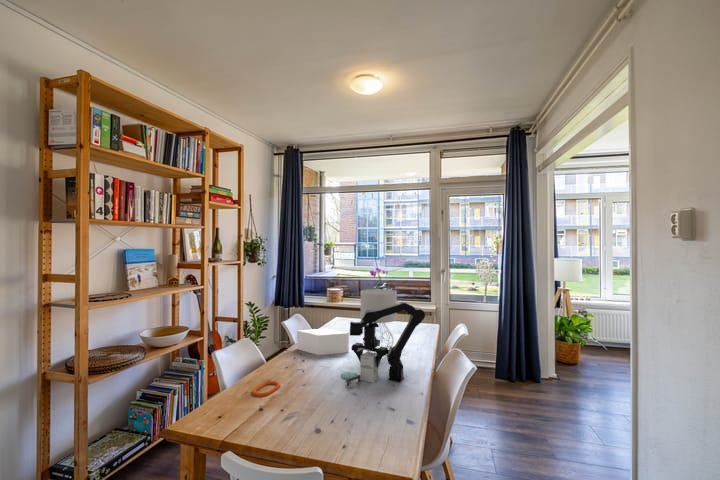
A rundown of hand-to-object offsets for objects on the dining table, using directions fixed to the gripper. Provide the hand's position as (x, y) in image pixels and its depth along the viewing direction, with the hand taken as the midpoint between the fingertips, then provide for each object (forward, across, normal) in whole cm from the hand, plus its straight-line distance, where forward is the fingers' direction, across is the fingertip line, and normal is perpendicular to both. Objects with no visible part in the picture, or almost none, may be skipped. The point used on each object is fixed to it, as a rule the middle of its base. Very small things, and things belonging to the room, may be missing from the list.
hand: (369, 365), depth 166 cm
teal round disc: (+7, +11, +2) cm, 13 cm away
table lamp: (+7, +11, -33) cm, 35 cm away
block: (+7, +48, -24) cm, 54 cm away
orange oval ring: (+7, +37, +35) cm, 52 cm away
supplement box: (+7, 0, 0) cm, 7 cm away
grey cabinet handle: (+7, +5, +10) cm, 13 cm away
